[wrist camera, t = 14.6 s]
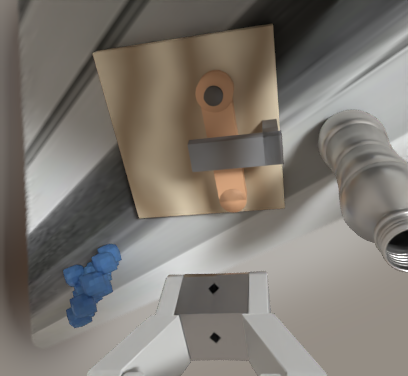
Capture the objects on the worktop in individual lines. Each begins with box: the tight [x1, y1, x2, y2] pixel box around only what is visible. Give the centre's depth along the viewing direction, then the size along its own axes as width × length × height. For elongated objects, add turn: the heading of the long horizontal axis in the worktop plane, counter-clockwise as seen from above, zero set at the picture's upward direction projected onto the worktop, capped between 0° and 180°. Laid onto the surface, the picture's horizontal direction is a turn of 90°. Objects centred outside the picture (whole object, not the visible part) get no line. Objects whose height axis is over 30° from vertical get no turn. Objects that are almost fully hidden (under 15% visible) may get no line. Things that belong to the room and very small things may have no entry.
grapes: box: [63, 244, 122, 328], centre depth 47 cm, size 12×7×12 cm, turn 154°
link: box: [195, 70, 247, 212], centre depth 39 cm, size 15×4×2 cm, turn 11°
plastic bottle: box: [318, 110, 408, 272], centre depth 32 cm, size 6×7×20 cm
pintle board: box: [92, 24, 285, 218], centre depth 39 cm, size 18×20×6 cm
